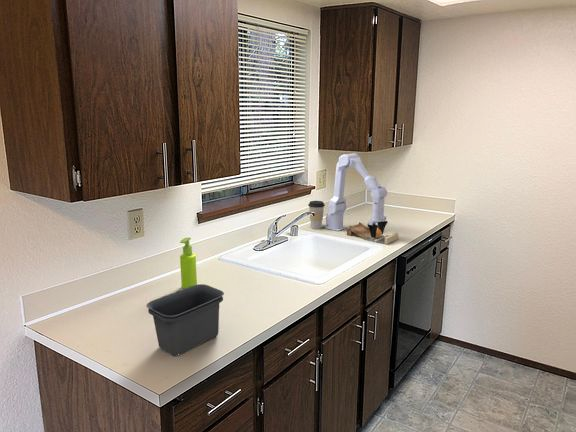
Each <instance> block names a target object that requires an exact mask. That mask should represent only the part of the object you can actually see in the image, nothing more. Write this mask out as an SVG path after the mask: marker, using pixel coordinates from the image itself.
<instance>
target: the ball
mask: <svg viewBox="0 0 576 432" xmlns="http://www.w3.org/2000/svg"><path fill="white" fill-rule="evenodd" d="M381 235H383V234H382V231H381V230H380V229H378V228H377V231H376V237H375V238H380V237H381Z"/></svg>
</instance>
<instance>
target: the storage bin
mask: <svg viewBox="0 0 576 432" xmlns="http://www.w3.org/2000/svg"><path fill="white" fill-rule="evenodd" d="M224 294H225V292H224V291H222V290H221V289H218V288H215V287H213V286H211V285H209V284H203V283H200V284H197V285H194V286H190V287H188V288H185V289H182V288H181V289H180V290H177V291H175V292H171V293H169V294H166V295H164V296H161V297H158V298H155V299H153V300H151V301H149V302H147V304H146V308H147V310H148V311H147V312H148V314H150V315H151V316H152V317H153V323H154V329H155V334H156V339H157V343H158V346H159V348H160V349H162V350H164V351H165V352H166V353H169V354H170V355H172V356H175V357H176V355H177V356H179V355H181V354H183V353H185V352H187V351H189V350H192V349H193V348H196V347H197V346H200V345H201V344H203V343H205V342H207V341H209V340H211V339H213V338H215V337H217V336H218V335H219V327H220V325H219V324H220V303H222V302H223V301H224ZM178 354H179V355H178Z"/></svg>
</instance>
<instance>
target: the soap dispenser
mask: <svg viewBox="0 0 576 432" xmlns="http://www.w3.org/2000/svg"><path fill="white" fill-rule="evenodd" d="M190 240H192V239H191V237H184V238H182V239H181V240H180V241H179V243H181V244H184V245H183V246H182V253H181V254H179V261H180V262H179V263H180V277H181V278H180V280H181V282H180V283H181V290H182V289H185V288H188V287H190V286H194V285H198V280H197V279H198V278H197V259H196V258H197V255H196V254H195V253H194V252H193V247H192V245H191V244H190Z"/></svg>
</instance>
